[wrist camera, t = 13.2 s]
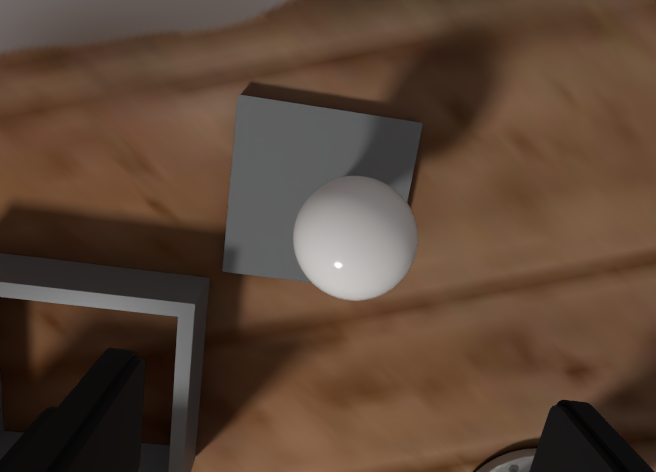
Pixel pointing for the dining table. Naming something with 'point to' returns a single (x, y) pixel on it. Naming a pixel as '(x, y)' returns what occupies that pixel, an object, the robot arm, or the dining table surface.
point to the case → (136, 296)
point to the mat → (301, 173)
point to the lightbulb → (355, 238)
